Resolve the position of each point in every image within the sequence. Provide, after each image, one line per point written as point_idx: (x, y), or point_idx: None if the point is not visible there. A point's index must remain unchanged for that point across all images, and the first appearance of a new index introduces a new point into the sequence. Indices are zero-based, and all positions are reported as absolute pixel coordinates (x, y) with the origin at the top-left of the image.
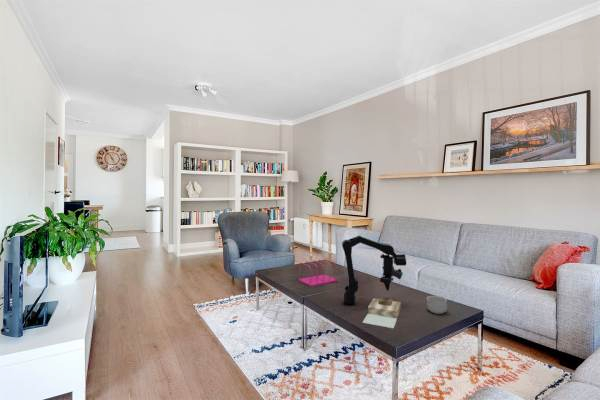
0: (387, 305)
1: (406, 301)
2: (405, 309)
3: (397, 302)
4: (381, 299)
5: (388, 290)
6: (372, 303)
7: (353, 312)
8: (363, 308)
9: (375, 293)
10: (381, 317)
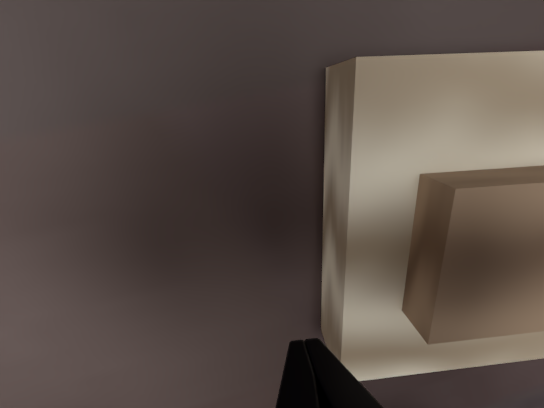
0: None
1: (13, 36)
2: (329, 5)
3: (396, 106)
4: (516, 309)
5: (317, 340)
6: (507, 347)
7: (529, 385)
8: None
9: (9, 401)
10: None
